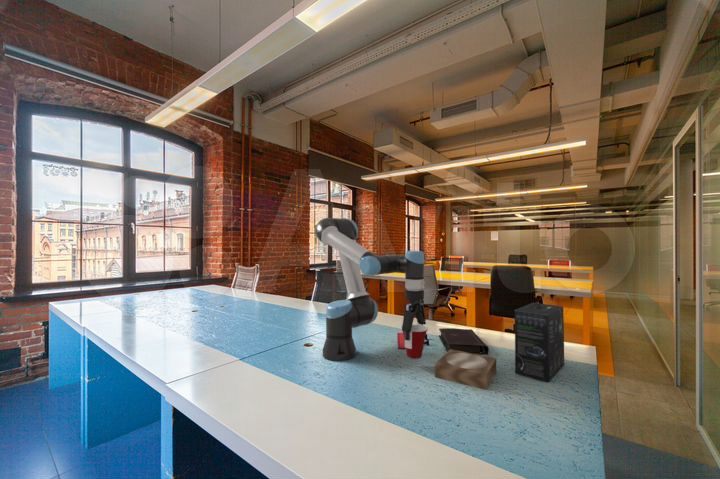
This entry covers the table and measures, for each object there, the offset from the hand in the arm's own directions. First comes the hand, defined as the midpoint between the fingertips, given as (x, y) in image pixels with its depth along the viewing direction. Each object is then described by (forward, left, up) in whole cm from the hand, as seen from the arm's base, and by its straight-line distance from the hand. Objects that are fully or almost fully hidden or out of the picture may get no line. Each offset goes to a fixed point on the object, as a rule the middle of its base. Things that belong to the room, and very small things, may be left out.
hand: (414, 343), depth 125 cm
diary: (+8, +36, -10) cm, 38 cm away
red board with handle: (-15, +31, -10) cm, 36 cm away
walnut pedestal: (+19, +4, -9) cm, 22 cm away
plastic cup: (0, 0, -5) cm, 5 cm away
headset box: (+42, +24, -9) cm, 50 cm away
